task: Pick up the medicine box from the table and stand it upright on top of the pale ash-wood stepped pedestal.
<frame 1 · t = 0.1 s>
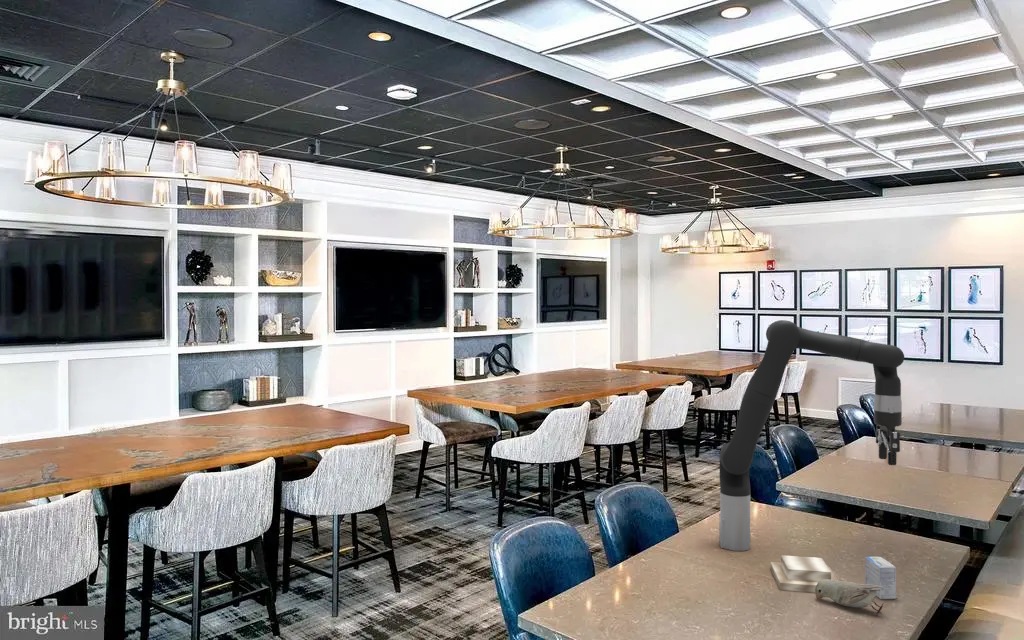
hand: (887, 461, 215), 29 cm above the table, tool pointing down, fingers open, 8 cm apart
medicine box: (880, 594, 187), on the table
decorative bird: (848, 608, 179), on the table
pedestal: (805, 581, 196), on the table
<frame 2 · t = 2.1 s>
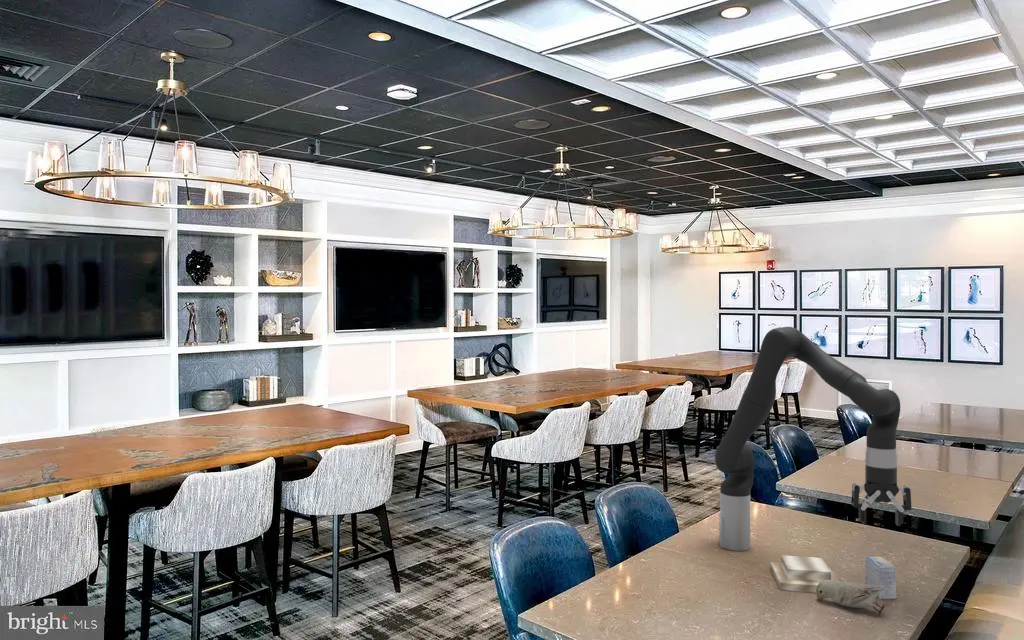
hand: (880, 524, 187), 19 cm above the table, tool pointing down, fingers open, 8 cm apart
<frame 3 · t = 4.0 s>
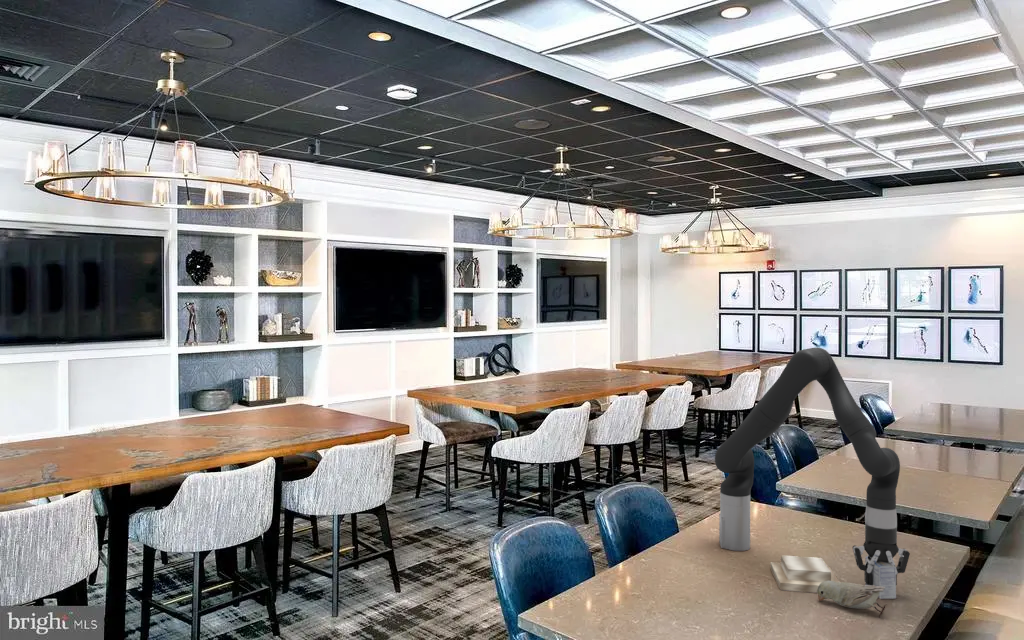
hand: (880, 586, 187), 2 cm above the table, tool pointing down, fingers closed on medicine box, 5 cm apart
medicine box: (880, 594, 187), on the table, touching gripper
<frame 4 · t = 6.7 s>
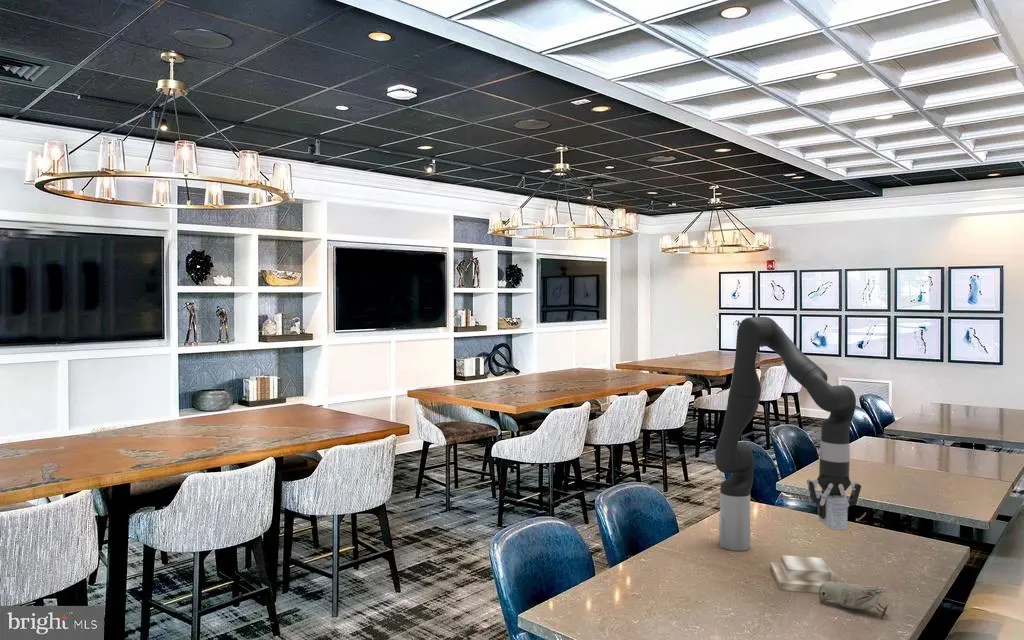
hand: (832, 518, 193), 18 cm above the table, tool pointing down, fingers closed on medicine box, 5 cm apart
medicine box: (832, 526, 193), point 16 cm above the table, touching gripper
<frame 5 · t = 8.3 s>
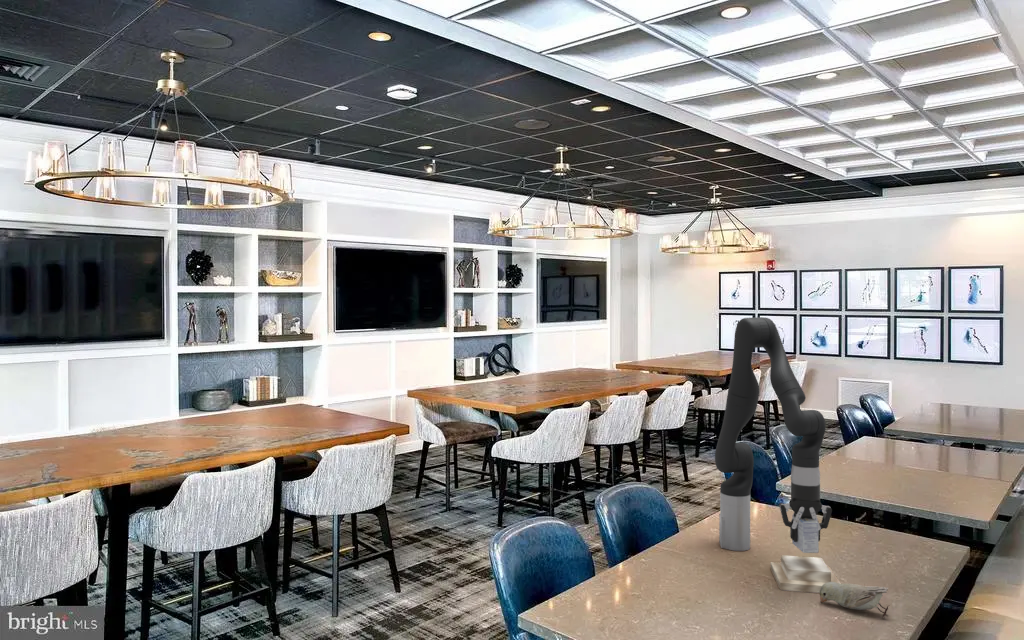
hand: (805, 541, 196), 11 cm above the table, tool pointing down, fingers closed on medicine box, 5 cm apart
medicine box: (805, 549, 195), point 9 cm above the table, touching gripper
when the fingers open (8 cm above the table, at t = 9.6 s): medicine box drops 1 cm, resting on pedestal.
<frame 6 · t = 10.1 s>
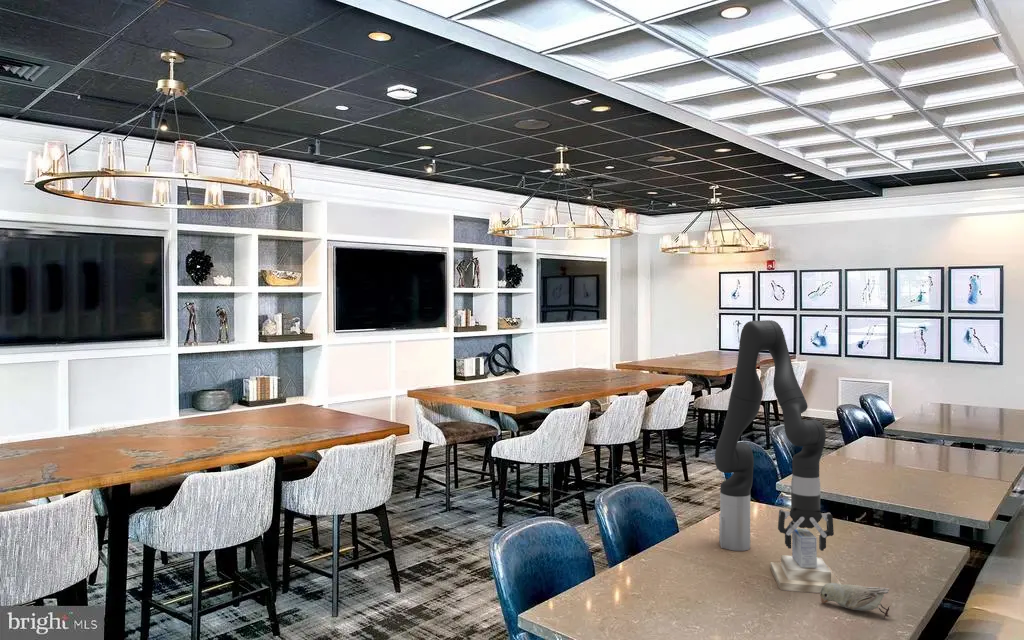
hand: (805, 548, 196), 9 cm above the table, tool pointing down, fingers open, 8 cm apart
medicine box: (804, 564, 196), point 5 cm above the table, touching pedestal
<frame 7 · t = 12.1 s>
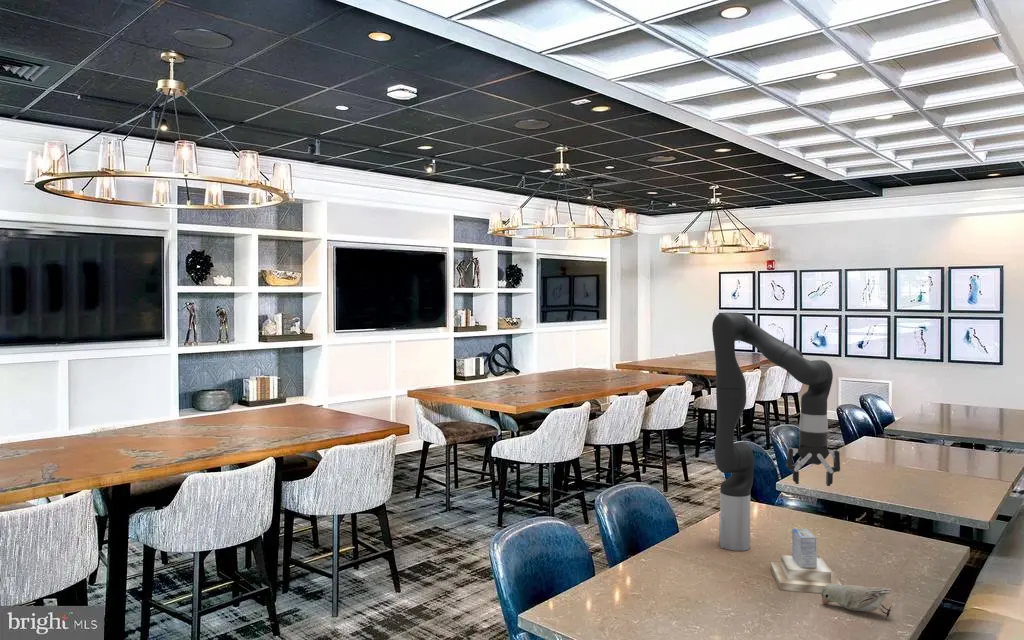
hand: (812, 484, 203), 25 cm above the table, tool pointing down, fingers open, 8 cm apart
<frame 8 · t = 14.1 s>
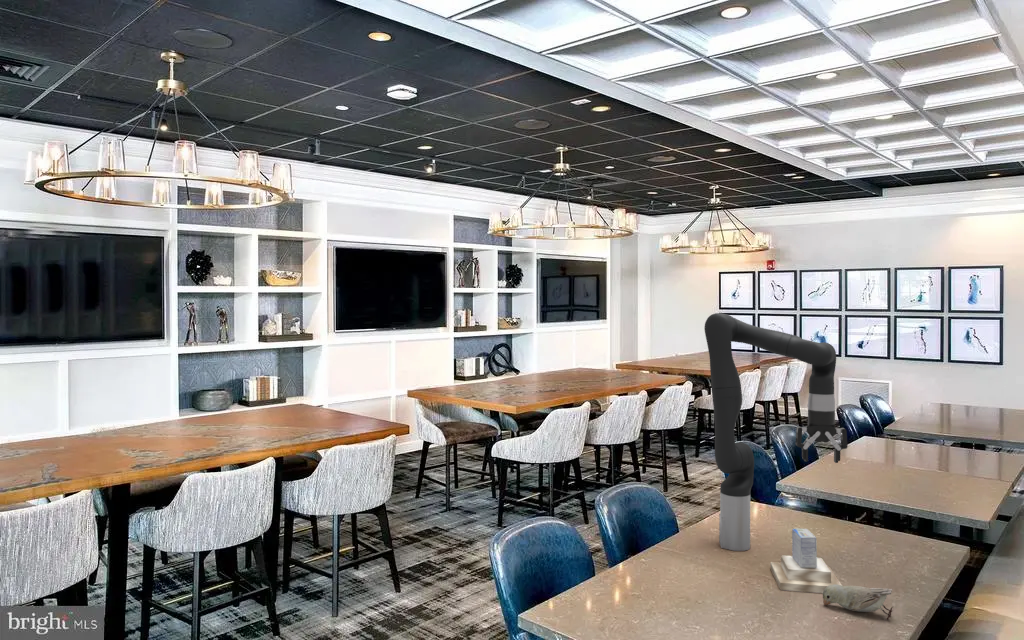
hand: (821, 461, 211), 30 cm above the table, tool pointing down, fingers open, 8 cm apart
at the end: medicine box inside the target area on the pedestal (0.3 cm from its centre), point 4.8 cm above the pedestal's base; medicine box tilted 0°; the gripper is holding nothing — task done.
